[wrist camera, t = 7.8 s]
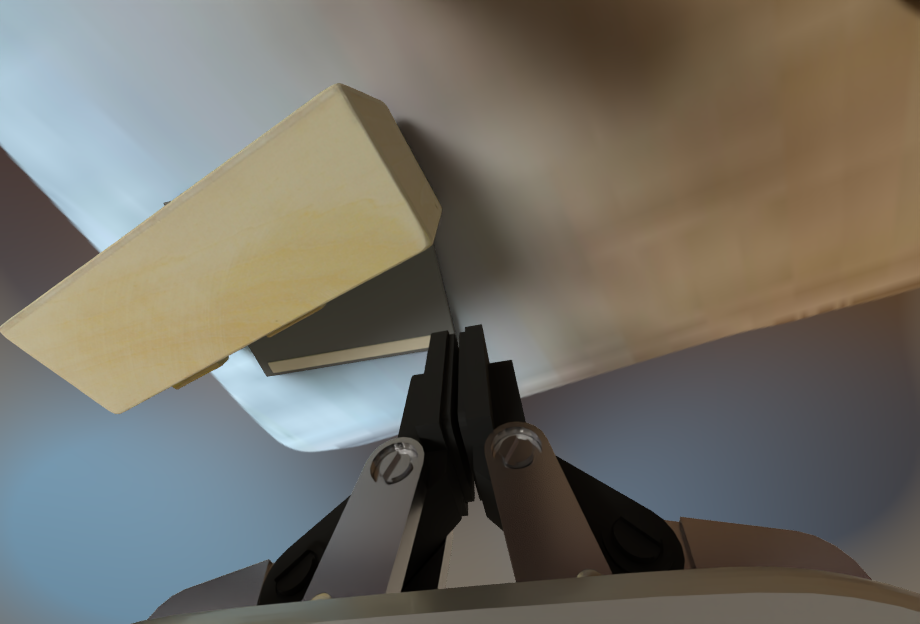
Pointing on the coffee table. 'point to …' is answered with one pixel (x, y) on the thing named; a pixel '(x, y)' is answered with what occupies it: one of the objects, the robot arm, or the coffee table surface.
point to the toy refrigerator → (238, 254)
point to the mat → (365, 321)
